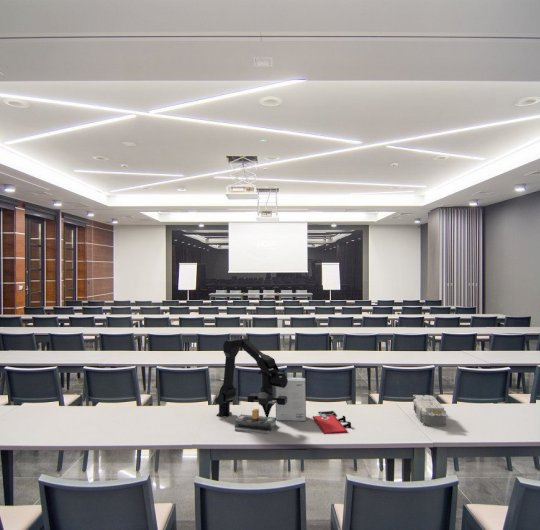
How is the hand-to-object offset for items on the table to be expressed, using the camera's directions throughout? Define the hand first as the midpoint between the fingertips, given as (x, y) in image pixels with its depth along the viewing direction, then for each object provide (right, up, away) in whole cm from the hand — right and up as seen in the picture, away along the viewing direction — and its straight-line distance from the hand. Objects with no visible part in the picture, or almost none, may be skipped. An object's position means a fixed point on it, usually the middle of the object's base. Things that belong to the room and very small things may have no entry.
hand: (267, 417), depth 201 cm
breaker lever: (-6, -1, +2) cm, 6 cm away
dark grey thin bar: (-7, -5, -5) cm, 10 cm away
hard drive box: (+12, -6, +13) cm, 19 cm away
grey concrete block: (+82, -6, +10) cm, 83 cm away
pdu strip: (-6, -5, +1) cm, 8 cm away
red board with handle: (+32, -6, +7) cm, 33 cm away
